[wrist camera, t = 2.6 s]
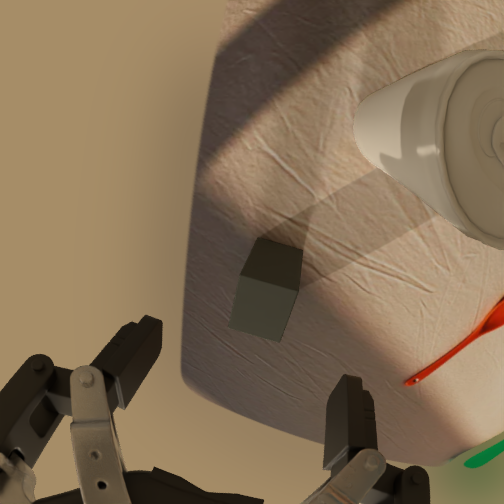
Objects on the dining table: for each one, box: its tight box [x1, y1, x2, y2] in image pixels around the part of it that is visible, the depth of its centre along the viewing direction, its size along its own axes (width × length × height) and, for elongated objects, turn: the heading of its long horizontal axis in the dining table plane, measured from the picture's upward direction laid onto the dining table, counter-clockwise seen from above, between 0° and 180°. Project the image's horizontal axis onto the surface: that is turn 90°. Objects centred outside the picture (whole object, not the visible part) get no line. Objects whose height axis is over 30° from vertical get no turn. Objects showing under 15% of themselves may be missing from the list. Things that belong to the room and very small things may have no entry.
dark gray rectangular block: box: [228, 238, 303, 343], centre depth 17 cm, size 3×4×5 cm
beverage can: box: [353, 50, 504, 250], centre depth 9 cm, size 5×5×12 cm
